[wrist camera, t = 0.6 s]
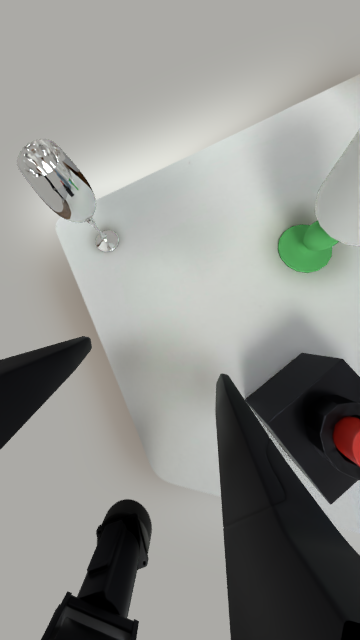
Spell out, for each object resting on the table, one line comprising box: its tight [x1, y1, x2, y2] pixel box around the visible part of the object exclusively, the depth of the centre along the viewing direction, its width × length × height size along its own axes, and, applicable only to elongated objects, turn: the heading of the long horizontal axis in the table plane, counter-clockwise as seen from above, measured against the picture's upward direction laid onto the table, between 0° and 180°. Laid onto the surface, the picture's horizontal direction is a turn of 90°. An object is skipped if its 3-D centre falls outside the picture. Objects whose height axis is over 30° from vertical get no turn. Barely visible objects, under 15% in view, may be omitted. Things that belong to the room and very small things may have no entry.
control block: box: [245, 353, 360, 504], centre depth 17 cm, size 12×10×8 cm
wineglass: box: [17, 139, 119, 252], centre depth 20 cm, size 6×6×12 cm
